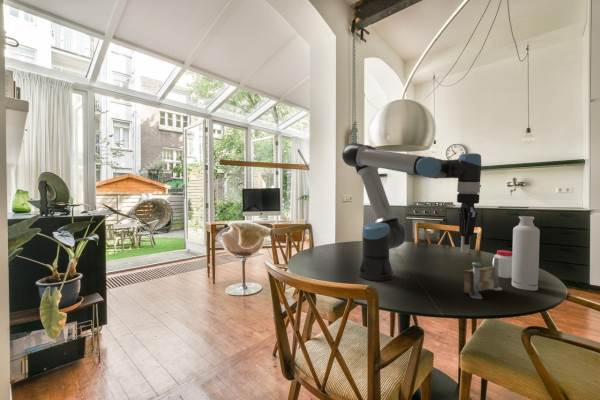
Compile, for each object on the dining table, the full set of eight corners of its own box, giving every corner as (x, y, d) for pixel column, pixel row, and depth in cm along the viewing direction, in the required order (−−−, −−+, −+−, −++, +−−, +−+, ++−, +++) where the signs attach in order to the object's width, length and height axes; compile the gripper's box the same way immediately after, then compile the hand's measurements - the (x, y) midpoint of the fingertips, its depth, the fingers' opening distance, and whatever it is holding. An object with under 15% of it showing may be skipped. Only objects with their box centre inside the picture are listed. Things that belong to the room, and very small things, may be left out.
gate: (489, 285, 106) (489, 265, 106) (495, 287, 104) (495, 267, 104) (463, 291, 100) (463, 269, 100) (469, 293, 98) (469, 271, 98)
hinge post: (489, 289, 104) (489, 259, 104) (487, 286, 108) (487, 256, 108) (503, 291, 102) (503, 260, 102) (500, 287, 106) (501, 257, 106)
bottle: (538, 292, 102) (541, 218, 101) (511, 287, 107) (513, 217, 106) (536, 286, 108) (539, 216, 107) (511, 281, 113) (513, 215, 112)
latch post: (470, 297, 97) (471, 263, 97) (469, 294, 100) (469, 261, 100) (482, 299, 95) (483, 264, 95) (480, 295, 99) (481, 262, 98)
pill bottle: (507, 273, 125) (508, 249, 125) (519, 278, 118) (519, 253, 117) (489, 272, 126) (490, 249, 126) (500, 278, 119) (501, 253, 118)
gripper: (486, 193, 100) (482, 257, 101) (471, 193, 112) (468, 249, 114) (464, 193, 101) (460, 255, 102) (452, 192, 114) (449, 247, 115)
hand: (464, 252), depth 108 cm, fingers closed
